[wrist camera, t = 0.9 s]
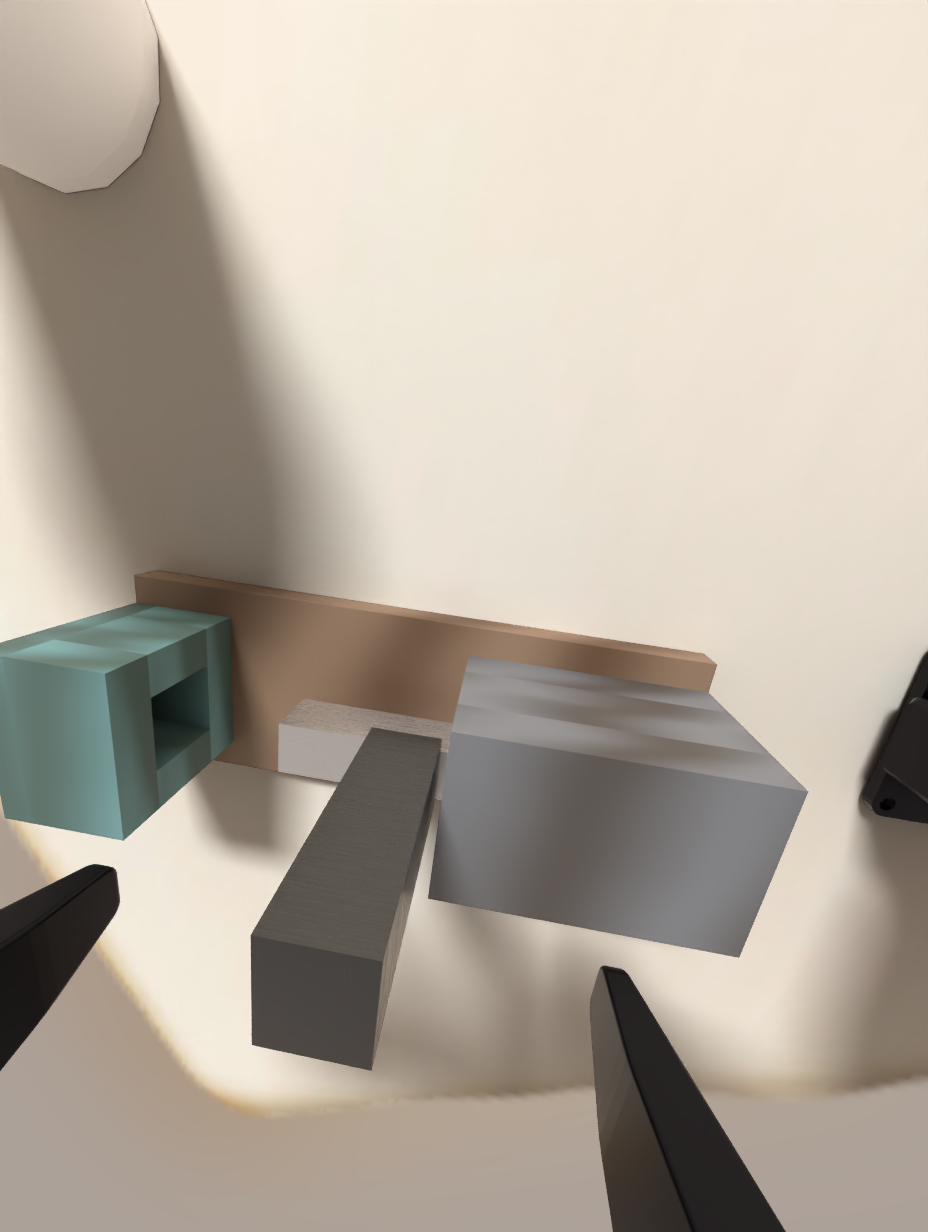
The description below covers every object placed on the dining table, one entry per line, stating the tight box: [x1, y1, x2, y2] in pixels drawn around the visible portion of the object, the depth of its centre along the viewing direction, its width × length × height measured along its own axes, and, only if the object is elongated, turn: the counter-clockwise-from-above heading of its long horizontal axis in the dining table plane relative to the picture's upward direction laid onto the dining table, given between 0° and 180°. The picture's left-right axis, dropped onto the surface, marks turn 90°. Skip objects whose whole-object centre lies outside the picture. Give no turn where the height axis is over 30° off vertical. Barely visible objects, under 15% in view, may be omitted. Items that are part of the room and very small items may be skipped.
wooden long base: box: [0, 571, 808, 957], centre depth 14 cm, size 20×7×6 cm, turn 82°
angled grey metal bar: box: [251, 699, 453, 1070], centre depth 10 cm, size 13×2×8 cm, turn 82°
